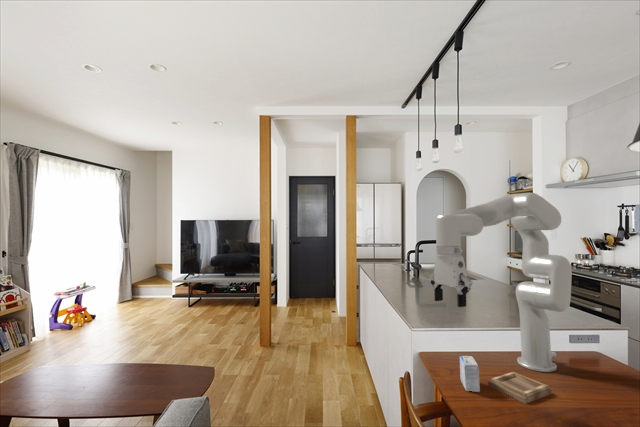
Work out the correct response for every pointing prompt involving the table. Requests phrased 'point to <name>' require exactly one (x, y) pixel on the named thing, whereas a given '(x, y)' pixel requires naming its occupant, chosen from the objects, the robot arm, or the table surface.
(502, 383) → the square wooden tray
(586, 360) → the table surface
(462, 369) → the medicine box
